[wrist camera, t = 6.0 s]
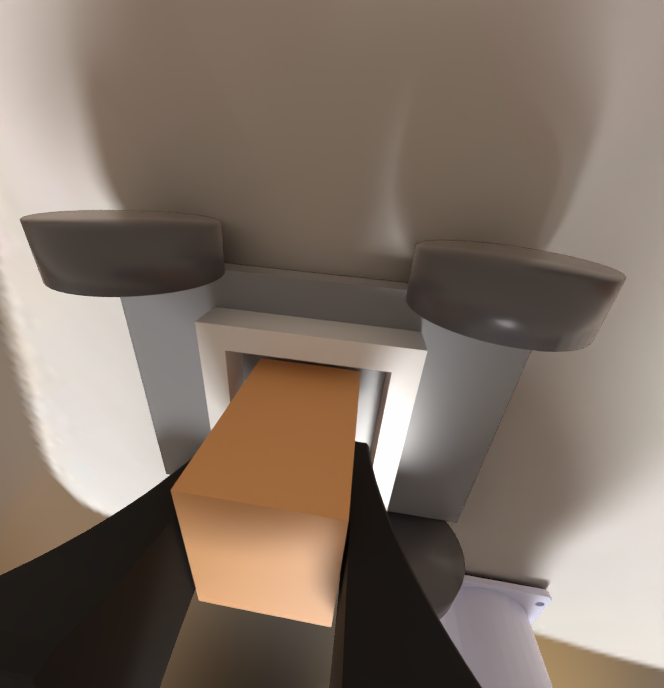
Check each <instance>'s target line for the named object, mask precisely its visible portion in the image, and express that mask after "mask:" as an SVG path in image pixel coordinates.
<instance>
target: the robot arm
mask: <svg viewBox="0 0 664 688" xmlns="http://www.w3.org/2000/svg"><path fill="white" fill-rule="evenodd" d="M193 457H194V456H193ZM193 457H192V458H193ZM192 458H191V459H192ZM191 459H190V460H189V461H187V462H186V463H185V464H184V465H183V466H181V467H180V468H179V469H178V470H176V471H175V472H174V473H172V474H171V475H170V476H168V477H167V478H166V479H165V480H163V481H162V482H161V483H159V484H158V485H157V486H155V487H154V488H153V489H151V490H150V491H148V492H147V493H146V494H144V495H143V496H141V497H140V498H138V499H137V500H135V501H134V502H132V503H131V504H129V505H128V506H126V507H125V508H123V509H122V510H120V511H119V512H117V513H115V514H114V515H112V516H111V517H109V518H107V519H106V520H104V521H103V522H101V523H99V524H98V525H96V526H94V527H92V528H91V529H89V530H87V531H86V532H84V533H82V534H80V535H78V536H77V537H75V538H73V539H71V540H69V541H68V542H66V543H64V544H62V545H60V546H59V547H57V548H55V549H53V550H51V551H49V552H47V553H45V554H43V555H42V556H39V557H37V558H35V559H33V560H32V561H30V562H28V563H25V564H23V565H21V566H19V567H17V568H15V569H13V570H11V571H9V572H7V573H4V574H2V575H0V688H160V686H161V682H162V679H163V676H164V674H165V671H166V668H167V665H168V662H169V659H170V657H171V654H172V651H173V648H174V645H175V642H176V640H177V637H178V634H179V631H180V628H181V626H182V623H183V621H184V618H185V615H186V612H187V610H188V607H189V604H190V602H191V599H192V596H193V594H194V591H195V589H196V587H195V583H194V579H193V575H192V571H191V568H190V564H189V560H188V556H187V552H186V548H185V544H184V540H183V537H182V533H181V529H180V525H179V521H178V517H177V513H176V509H175V506H174V502H173V498H172V494H171V489H172V487H173V486H174V484H175V483H176V481H177V480H178V478H179V477H180V476H181V474H182V473H183V471H184V470H185V468H186V467H187V465H188V464H189V462H190V461H191ZM551 600H552V599H551V596H550V594H549V592H548V591H547V590H545V589H540V588H535V587H529V586H524V585H518V584H513V583H507V582H502V581H496V580H491V579H485V578H480V577H474V576H468V575H464V579H463V583H462V586H461V588H460V590H459V592H458V594H457V596H456V598H455V600H454V602H453V603H452V605H451V607H450V609H449V610H448V612H447V613H446V614H445V615H444V616H443V617H442V618H441V619H440V620H439V618H438V616H437V614H436V613H435V611H434V609H433V607H432V605H431V603H430V602H429V600H428V598H427V596H426V594H425V593H424V591H423V589H422V587H421V585H420V583H419V582H418V580H417V578H416V576H415V574H414V572H413V570H412V568H411V566H410V564H409V562H408V560H407V558H406V556H405V553H404V551H403V549H402V547H401V545H400V543H399V540H398V538H397V536H396V533H395V531H394V529H393V526H392V524H391V521H390V519H389V516H388V513H387V511H386V508H385V505H384V503H383V500H382V497H381V494H380V490H379V487H378V484H377V481H376V478H375V474H374V470H373V466H372V462H371V457H370V451H369V445H368V444H367V443H364V442H357V441H355V449H354V461H353V473H352V486H351V498H350V510H349V522H348V528H347V534H346V540H345V546H344V552H343V558H342V564H341V570H340V581H339V595H338V606H337V616H336V627H335V636H334V646H333V656H332V666H331V675H330V676H331V677H330V685H329V688H553V687H552V684H551V681H550V678H549V675H548V673H547V670H546V667H545V664H544V661H543V659H542V656H541V653H540V650H539V647H538V644H537V642H536V639H535V636H534V633H533V630H532V628H531V625H532V623H533V622H534V621H535V620H536V619H537V617H538V616H539V615H540V614H541V613H542V611H543V610H544V609H545V608H546V607H547V605H548V604H549V603H550V602H551Z"/></svg>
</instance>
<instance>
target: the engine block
mask: <svg viewBox="0 0 664 688" xmlns="http://www.w3.org/2000/svg"><path fill="white" fill-rule="evenodd" d="M360 375H361V371H354V370H347V369H339V368H332V367H324V366H317V365H309V364H302V363H294V362H287V361H279V360H272V359H264V358H260V360H259V361H258V363H257V364H256V366H255V367H254V369H253V370H252V372H251V373H250V375H249V376H248V377H247V379H246V380H245V382H244V383H243V385H242V386H241V388H240V389H239V391H238V392H237V394H236V395H235V397H234V398H233V399H232V401H231V402H230V404H229V405H228V407H227V408H226V410H225V411H224V413H223V414H222V416H221V417H220V418H219V420H218V421H217V423H216V424H215V426H214V427H213V429H212V430H211V432H210V433H209V435H208V436H207V437H206V439H205V440H204V442H203V443H202V445H201V446H200V448H199V449H198V451H197V452H196V454H195V455H194V457H193V458H192V459H191V461H190V462H189V464H188V465H187V467H186V468H185V470H184V471H183V473H182V474H181V476H180V477H179V478H178V480H177V481H176V483H175V484H174V486H173V487H172V489H171V494H172V498H173V502H174V506H175V509H176V513H177V517H178V521H179V525H180V529H181V533H182V537H183V540H184V544H185V548H186V552H187V556H188V560H189V564H190V568H191V571H192V575H193V579H194V583H195V587H196V591H197V595H198V599H199V601H204V602H208V603H213V604H218V605H224V606H228V607H233V608H238V609H243V610H249V611H254V612H259V613H263V614H268V615H273V616H278V617H283V618H288V619H293V620H298V621H303V622H308V623H313V624H318V625H323V626H328V627H331V625H332V619H333V613H334V607H335V600H336V594H337V589H338V583H339V576H340V570H341V564H342V558H343V552H344V546H345V540H346V534H347V528H348V522H349V510H350V498H351V486H352V473H353V461H354V449H355V437H356V424H357V412H358V400H359V388H360Z"/></svg>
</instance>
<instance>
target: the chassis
mask: <svg viewBox="0 0 664 688" xmlns="http://www.w3.org/2000/svg"><path fill="white" fill-rule="evenodd" d="M20 222H21V224H22V227H23V230H24V232H25V235H26V238H27V240H28V243H29V246H30V248H31V251H32V254H33V256H34V259H35V262H36V264H37V267H38V270H39V272H40V275H41V277H42V280H43V283H44V284H45V285H46V286H47V287H49V288H51V289H53V290H56V291H59V292H64V293H68V294H75V295H83V296H96V297H120V298H121V302H122V306H123V310H124V314H125V317H126V321H127V325H128V329H129V333H130V337H131V340H132V344H133V348H134V352H135V356H136V360H137V363H138V367H139V371H140V375H141V379H142V383H143V386H144V390H145V394H146V398H147V402H148V406H149V409H150V413H151V417H152V421H153V425H154V429H155V432H156V436H157V440H158V444H159V448H160V452H161V455H162V459H163V463H164V467H165V471H166V474H170V475H171V474H172V473H174V472H175V471H176V470H178V469H179V468H180V467H181V466H183V465H184V464H185V463H186V462H187V461H189V460H190V459H191V458H192V457H193V456H194V455H195V454H196V452H197V451H198V449H199V448H200V446H201V445H202V443H203V442H204V440H205V439H206V437H207V436H208V435H209V433H210V432H211V430H212V429H213V427H214V426H215V424H216V423H217V421H218V420H219V418H220V417H221V416H222V414H223V413H224V411H225V410H226V408H227V407H228V405H229V404H230V402H231V401H232V399H233V398H234V397H235V395H236V394H237V392H238V391H239V389H240V388H241V386H242V385H243V383H244V382H245V380H246V379H247V377H248V376H249V375H250V373H251V372H252V370H253V369H254V367H255V366H256V364H257V363H258V361H259V360H260V358H264V359H272V360H279V361H287V362H294V363H302V364H309V365H317V366H324V367H332V368H339V369H347V370H354V371H361V375H360V388H359V400H358V412H357V424H356V437H355V441H357V442H364V443H367V444H368V445H369V451H370V457H371V462H372V466H373V470H374V474H375V478H376V481H377V484H378V487H379V490H380V494H381V497H382V500H383V503H384V505H385V508H386V511H387V513H388V516H389V519H390V521H391V524H392V526H393V529H394V531H395V533H396V536H397V538H398V540H399V543H400V545H401V547H402V549H403V551H404V553H405V556H406V558H407V560H408V562H409V564H410V566H411V568H412V570H413V572H414V574H415V576H416V578H417V580H418V582H419V583H420V585H421V587H422V589H423V591H424V593H425V594H426V596H427V598H428V600H429V602H430V603H431V605H432V607H433V609H434V611H435V613H436V614H437V616H438V618H439V620H440V619H441V618H442V617H443V616H444V615H445V614H446V613H447V612H448V610H449V609H450V607H451V605H452V603H453V602H454V600H455V598H456V596H457V594H458V592H459V590H460V588H461V586H462V583H463V579H464V574H465V562H464V556H463V552H462V549H461V546H460V543H459V541H458V539H457V537H456V535H455V534H454V532H453V531H452V529H451V528H450V526H449V525H448V524H447V523H446V521H450V522H457V520H458V518H459V515H460V513H461V511H462V509H463V506H464V504H465V502H466V499H467V497H468V495H469V492H470V490H471V488H472V486H473V483H474V481H475V479H476V476H477V474H478V472H479V469H480V467H481V465H482V463H483V460H484V458H485V456H486V453H487V451H488V449H489V447H490V444H491V442H492V440H493V437H494V435H495V433H496V430H497V428H498V426H499V424H500V421H501V419H502V417H503V414H504V412H505V410H506V407H507V405H508V403H509V401H510V398H511V396H512V394H513V391H514V389H515V387H516V385H517V382H518V380H519V378H520V375H521V373H522V371H523V368H524V366H525V364H526V362H527V359H528V357H529V355H530V352H531V350H535V351H551V352H559V351H572V350H578V349H581V348H584V347H586V346H588V345H590V344H591V342H592V341H593V339H594V337H595V336H596V334H597V332H598V330H599V328H600V326H601V324H602V322H603V321H604V319H605V317H606V315H607V313H608V311H609V309H610V308H611V306H612V304H613V302H614V300H615V298H616V296H617V294H618V293H619V291H620V289H621V287H622V285H623V283H624V281H625V279H626V276H625V275H624V274H623V273H621V272H619V271H617V270H615V269H613V268H610V267H607V266H604V265H601V264H598V263H594V262H591V261H587V260H583V259H579V258H575V257H571V256H566V255H561V254H557V253H552V252H546V251H541V250H535V249H529V248H523V247H516V246H509V245H502V244H494V243H484V242H474V241H459V240H430V241H423V242H419V243H417V245H416V248H415V253H414V258H413V264H412V269H411V274H410V279H409V283H404V282H394V281H385V280H376V279H367V278H357V277H348V276H339V275H330V274H321V273H311V272H302V271H293V270H284V269H274V268H265V267H256V266H247V265H238V264H228V263H224V253H223V242H222V231H221V222H220V221H219V220H217V219H214V218H210V217H205V216H199V215H192V214H183V213H172V212H157V211H134V210H79V211H59V212H47V213H39V214H32V215H28V216H24V217H22V218H20Z"/></svg>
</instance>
